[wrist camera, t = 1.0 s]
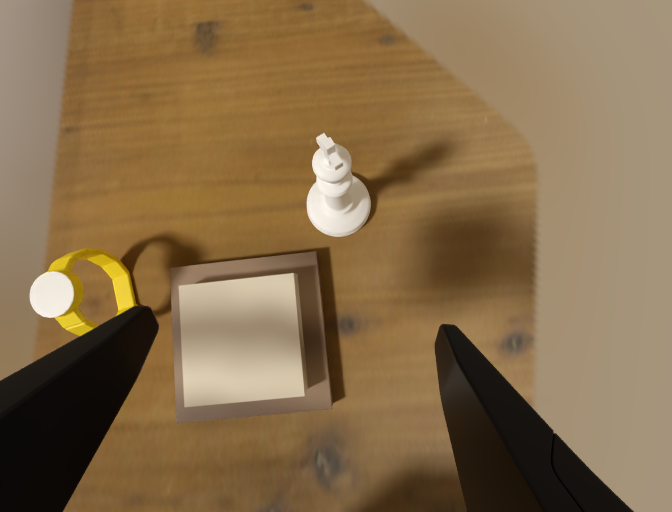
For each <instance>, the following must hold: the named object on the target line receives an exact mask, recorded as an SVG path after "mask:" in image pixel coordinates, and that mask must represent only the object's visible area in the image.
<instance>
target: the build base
mask: <svg viewBox="0 0 672 512" xmlns="http://www.w3.org/2000/svg"><path fill="white" fill-rule="evenodd" d="M170 286H171V308H172V330H173V353H174V375H175V397H176V419H177V423H183V422H194V421H205V420H216V419H227V418H238V417H250V416H261V415H272V414H283V413H294V412H305V411H316V410H327V409H332V405H333V401H332V391H331V381H330V371H329V361H328V351H327V341H326V331H325V322H324V312H323V302H322V292H321V282H320V272H319V262H318V253H317V252H316V251H314V252H305V253H296V254H288V255H279V256H270V257H261V258H252V259H244V260H235V261H226V262H217V263H208V264H200V265H191V266H182V267H173V268H170Z"/></svg>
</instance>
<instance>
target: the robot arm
mask: <svg viewBox="0 0 672 512" xmlns="http://www.w3.org/2000/svg"><path fill="white" fill-rule="evenodd" d="M158 329H159V324H158V321H157V319H156V317H155V315H154V313H153V311H152V309H151V308H150V307H149V306H133V307H132V308H130V309H128V310H126V311H124V312H123V313H121V314H119V315H117V316H115V317H114V318H112V319H110V320H108V321H106V322H105V323H103V324H101V325H99V326H98V327H96V328H94V329H92V330H90V331H89V332H87V333H85V334H83V335H81V336H80V337H78V338H76V339H74V340H72V341H71V342H69V343H67V344H65V345H63V346H62V347H60V348H58V349H56V350H55V351H53V352H51V353H49V354H47V355H46V356H44V357H42V358H40V359H38V360H37V361H35V362H33V363H31V364H29V365H28V366H26V367H24V368H22V369H21V370H19V371H17V372H15V373H13V374H12V375H10V376H8V377H6V378H4V379H3V380H1V381H0V512H63V510H64V508H65V507H66V505H67V503H68V501H69V500H70V498H71V496H72V494H73V492H74V491H75V489H76V487H77V485H78V483H79V482H80V480H81V478H82V476H83V475H84V473H85V471H86V469H87V467H88V466H89V464H90V462H91V460H92V458H93V457H94V455H95V453H96V451H97V450H98V448H99V446H100V444H101V442H102V441H103V439H104V437H105V435H106V433H107V432H108V430H109V428H110V426H111V424H112V423H113V421H114V419H115V417H116V416H117V414H118V412H119V410H120V408H121V407H122V405H123V403H124V401H125V399H126V398H127V396H128V394H129V392H130V391H131V389H132V387H133V385H134V383H135V381H136V380H137V378H138V376H139V374H140V371H141V369H142V367H143V365H144V363H145V360H146V358H147V356H148V353H149V351H150V349H151V347H152V344H153V342H154V340H155V337H156V335H157V333H158ZM435 355H436V364H437V372H438V380H439V389H440V396H441V402H442V407H443V411H444V415H445V420H446V424H447V428H448V432H449V436H450V441H451V445H452V449H453V453H454V458H455V462H456V466H457V470H458V475H459V479H460V483H461V487H462V492H463V496H464V500H465V504H466V508H467V512H634V511H633V510H631V509H630V508H629V507H628V506H627V505H626V504H625V503H624V502H623V501H622V500H621V499H620V498H619V497H618V496H617V495H616V494H615V493H614V492H612V490H611V489H610V488H609V487H608V486H607V485H605V484H604V483H603V482H602V481H601V480H600V479H599V478H598V477H597V476H596V475H595V474H594V473H593V472H592V471H591V470H590V469H589V468H588V467H587V466H586V465H585V463H584V462H583V461H582V460H581V459H580V458H579V457H578V456H577V455H576V454H575V453H574V452H573V451H572V450H571V449H570V448H569V447H568V446H567V445H566V444H565V442H564V441H563V440H562V439H561V438H560V437H559V436H558V435H557V434H555V433H554V432H553V430H552V429H551V428H550V427H549V425H548V424H547V423H546V422H545V421H544V420H543V419H542V418H541V417H540V416H539V415H538V414H537V412H536V411H535V410H534V409H533V408H532V407H531V406H530V405H529V404H528V403H527V402H526V401H525V399H524V398H523V397H522V396H521V395H520V394H519V393H518V392H517V391H516V390H515V389H514V388H513V387H512V385H511V384H510V383H509V382H508V381H507V380H506V379H505V378H504V377H503V376H502V375H501V374H500V372H499V371H498V370H497V369H496V368H495V367H494V366H493V365H492V364H491V363H490V362H489V361H488V360H487V358H486V357H485V356H484V355H483V354H482V353H481V352H480V351H479V350H478V349H477V348H476V347H475V345H474V344H473V343H472V342H471V341H470V340H469V339H468V338H467V337H466V336H465V335H464V334H463V333H462V331H461V330H460V329H459V328H458V327H457V326H455V325H450V324H442V325H441V326H440V327H439V331H438V334H437V337H436V341H435Z"/></svg>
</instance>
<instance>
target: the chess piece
mask: <svg viewBox="0 0 672 512" xmlns="http://www.w3.org/2000/svg"><path fill="white" fill-rule="evenodd" d="M316 140H317V143H318V144H319V146H320V148H319V149H318V150H317V151H316V153H315V154H314V156H313V160H312V167H313V170H314V172H315V174H316V175H317V179H316V180H317V181H316V182H315V184H314V185H313V186H312V188H311V189H310V191H309V194H308V198H307V212H308V216H309V218H310V220H311V222H312V223H313V225H314V226H315V227H316V228H317V229H318V230H319V231H321V232H323V233H324V234H327V235H330V236H335V237H342V236H347V235H350V234H352V233H354V232H356V231H358V230H359V229H360V228H361V227H362V226H363V225H364V224H365V222H366V221H367V219H368V217H369V214H370V210H371V200H370V196H369V193H368V190H367V188H366V187H365V185H364V184H363V183H362V182H361V181H360V180H359V179H358V178H356V177H355V176H353V175H352V173H351V171H350V169H351V157H350V154H349V152H348V151H347V150H346V149H345V148H344V147H342V146H341V145H338V144H334V142H333V141H332V139H331V138H330V137H329V138H327V137H326V135H325V134H324V133H323V134H321V135H320V136H318V137H316Z"/></svg>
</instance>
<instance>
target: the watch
mask: <svg viewBox="0 0 672 512" xmlns="http://www.w3.org/2000/svg"><path fill="white" fill-rule="evenodd" d="M77 259H87V260H89V261H91V262H93V263H95V264H97V265H99V266H101V267H102V268H103V269H104V270H105V272H106V273H107V274H108V275H109V276H110V277H111V278H112V281H113V286H114V291H115V295H116V300H117V305H118V310H119V311H118V313H117V315H119V314H121V313H123V312H124V311H126V310H128V309H130V308H132V307H133V306H138V304H136V300H135V296H134V291H133V286H132V282H131V277H130V272H129V270H128V269H127V268H126V267H125V266H124V265H123V263H122V262H121V261H120V260H119V259H118V258H116V257H115V256H113V255H111V254H109V253H108V252H106V251H104V250H101V249H91V248H85V249H81V250H78V251H75V252H72V253H69V254H66V255H65V256H63V257H61V258H59V259H57V260H56V261H54V262H53V263H52V264H51V266H50V268H49V270H48V272H46V273H44V274H42V275H41V276H39V277H38V278H37V279H36V280H35V281H34V283H33V285H32V287H31V291H30V302H31V305H32V307H33V308H34V310H35V311H36V312H37V313H38V314H40V315H41V316H43V317H48V318H56V320H57V321H58V322H59V323H60V324H61V325H62V327H63V328H66V330H67V331H70V332H72V333H74V334H77V335H79V336H81V335H83V334H85V333H87V332H89V331H90V330H92V329H94V328H96V327H98V326H99V325H98V324H96V323H94V322H92V321H90V320H88V319H86V318H85V316H84V315H83V314H82V313H81V311H80V310H79V309H78V307H79V306H80V304H81V302H82V299H83V295H84V291H83V285H82V283H81V281H80V279H79V278H78V277H77V276H76V275H75V274H73V273H71V272H70V271H71V269H72V267H73V264H74V262H75V261H76V260H77ZM117 315H116V316H117Z"/></svg>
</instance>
